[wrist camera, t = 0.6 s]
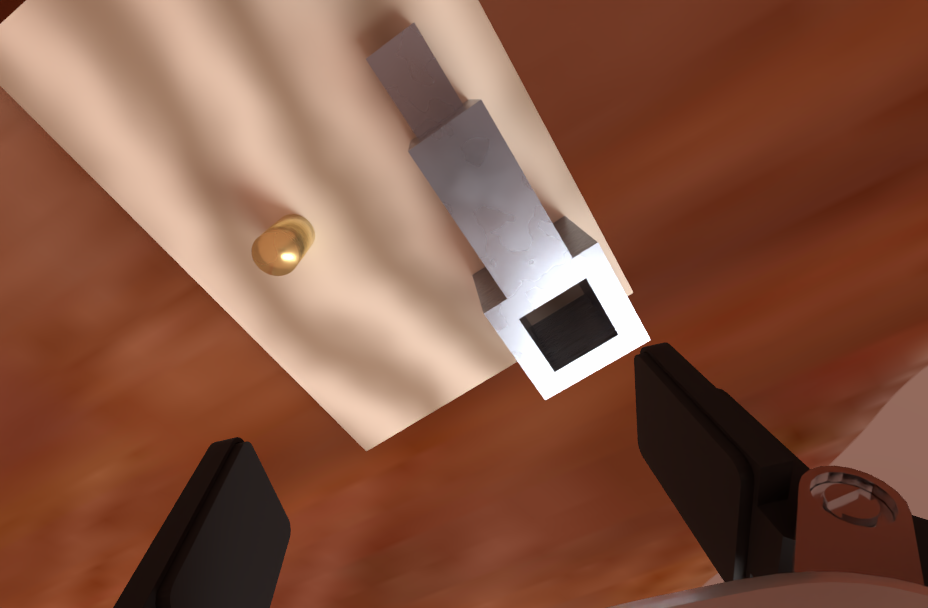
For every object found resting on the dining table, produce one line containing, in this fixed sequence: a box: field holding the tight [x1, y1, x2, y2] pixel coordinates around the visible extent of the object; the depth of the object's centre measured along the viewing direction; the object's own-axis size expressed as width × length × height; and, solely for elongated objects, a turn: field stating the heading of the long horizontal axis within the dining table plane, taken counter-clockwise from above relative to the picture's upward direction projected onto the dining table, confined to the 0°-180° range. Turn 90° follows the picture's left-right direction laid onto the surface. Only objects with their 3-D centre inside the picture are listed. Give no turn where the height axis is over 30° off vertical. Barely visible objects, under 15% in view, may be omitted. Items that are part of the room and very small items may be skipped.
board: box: [0, 0, 633, 451], centre depth 28 cm, size 23×32×2 cm
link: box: [366, 23, 650, 400], centre depth 26 cm, size 20×7×6 cm, turn 33°
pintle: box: [251, 214, 315, 276], centre depth 27 cm, size 2×2×6 cm
